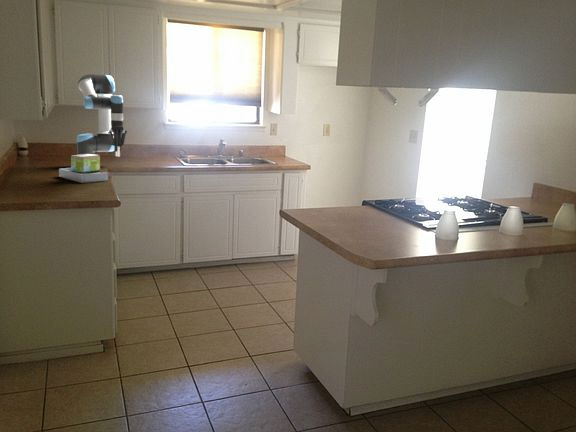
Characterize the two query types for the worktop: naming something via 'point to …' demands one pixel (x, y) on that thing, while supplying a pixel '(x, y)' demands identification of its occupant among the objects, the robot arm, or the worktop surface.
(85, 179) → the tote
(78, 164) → the tea box
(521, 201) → the worktop surface
